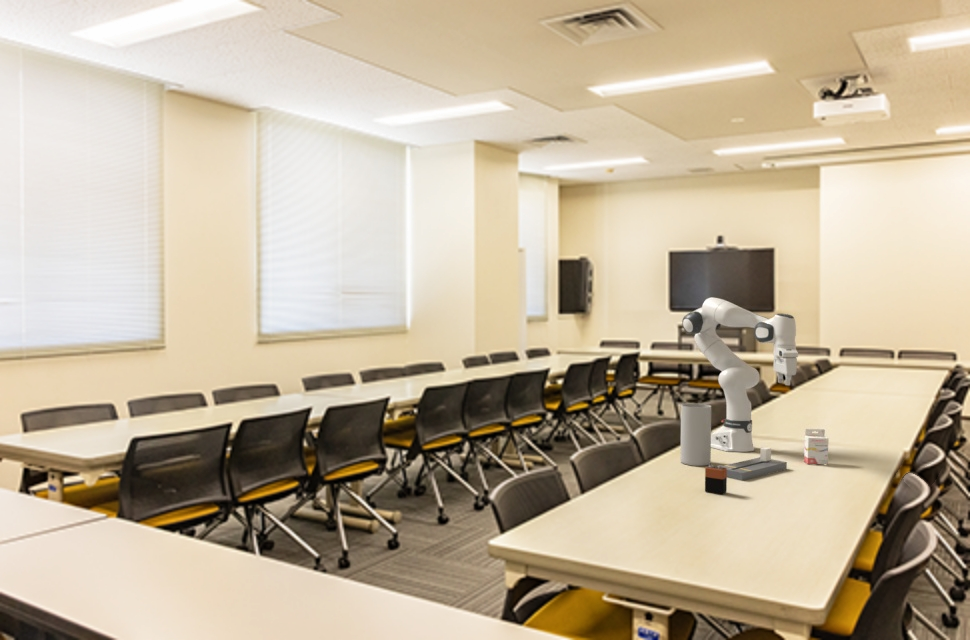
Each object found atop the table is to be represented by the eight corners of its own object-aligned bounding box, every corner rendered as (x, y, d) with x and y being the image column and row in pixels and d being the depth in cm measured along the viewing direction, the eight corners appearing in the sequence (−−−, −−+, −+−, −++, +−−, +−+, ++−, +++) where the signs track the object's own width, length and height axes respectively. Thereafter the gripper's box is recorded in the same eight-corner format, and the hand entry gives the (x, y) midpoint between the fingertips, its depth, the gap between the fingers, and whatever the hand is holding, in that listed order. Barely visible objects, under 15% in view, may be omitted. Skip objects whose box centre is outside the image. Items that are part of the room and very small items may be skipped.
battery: (723, 495, 268) (723, 467, 268) (704, 492, 272) (704, 465, 272) (726, 492, 271) (727, 465, 271) (708, 489, 275) (708, 463, 275)
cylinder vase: (714, 466, 313) (715, 407, 312) (684, 466, 313) (685, 407, 312) (705, 460, 326) (706, 403, 325) (677, 459, 325) (677, 403, 325)
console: (715, 474, 298) (715, 467, 298) (760, 464, 318) (760, 457, 318) (742, 480, 289) (742, 472, 289) (786, 469, 308) (786, 462, 308)
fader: (760, 465, 309) (760, 448, 309) (765, 463, 312) (765, 447, 311) (765, 466, 307) (765, 449, 307) (770, 464, 310) (771, 448, 309)
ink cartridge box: (807, 464, 317) (808, 430, 316) (803, 462, 322) (804, 428, 321) (828, 465, 316) (829, 431, 316) (824, 462, 321) (824, 429, 321)
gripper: (769, 350, 326) (769, 381, 327) (784, 353, 306) (783, 386, 306) (784, 350, 326) (784, 381, 326) (799, 353, 305) (799, 386, 306)
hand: (784, 384), depth 316 cm, fingers open, 8 cm apart
